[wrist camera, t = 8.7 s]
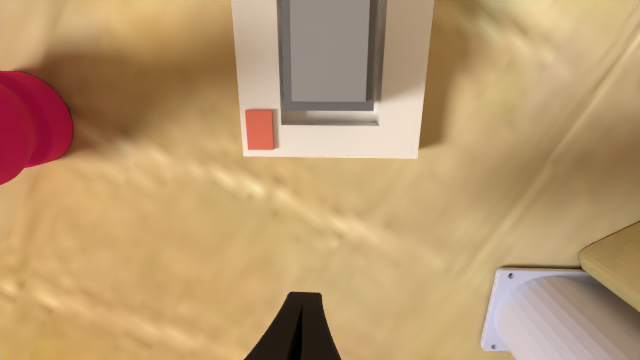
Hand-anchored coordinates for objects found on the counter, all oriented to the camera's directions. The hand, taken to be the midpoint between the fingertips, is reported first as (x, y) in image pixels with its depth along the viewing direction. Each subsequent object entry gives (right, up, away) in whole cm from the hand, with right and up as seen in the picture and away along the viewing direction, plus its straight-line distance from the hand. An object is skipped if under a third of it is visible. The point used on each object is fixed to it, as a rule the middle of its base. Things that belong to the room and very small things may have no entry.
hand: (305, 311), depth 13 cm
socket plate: (+1, +13, +6) cm, 15 cm away
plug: (+1, +13, +6) cm, 14 cm away
